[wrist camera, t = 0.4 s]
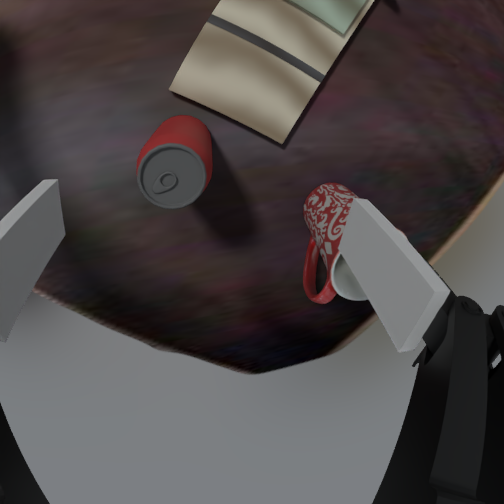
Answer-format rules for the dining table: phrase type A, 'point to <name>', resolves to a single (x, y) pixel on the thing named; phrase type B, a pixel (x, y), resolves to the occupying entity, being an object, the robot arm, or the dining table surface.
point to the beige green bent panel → (266, 58)
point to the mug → (329, 243)
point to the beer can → (176, 163)
